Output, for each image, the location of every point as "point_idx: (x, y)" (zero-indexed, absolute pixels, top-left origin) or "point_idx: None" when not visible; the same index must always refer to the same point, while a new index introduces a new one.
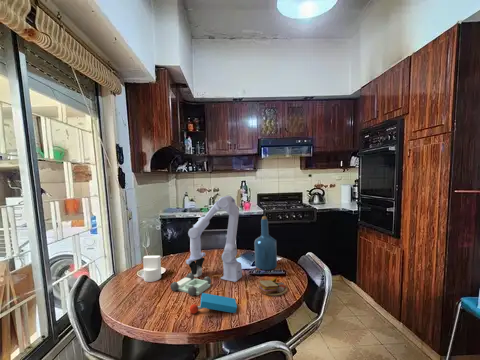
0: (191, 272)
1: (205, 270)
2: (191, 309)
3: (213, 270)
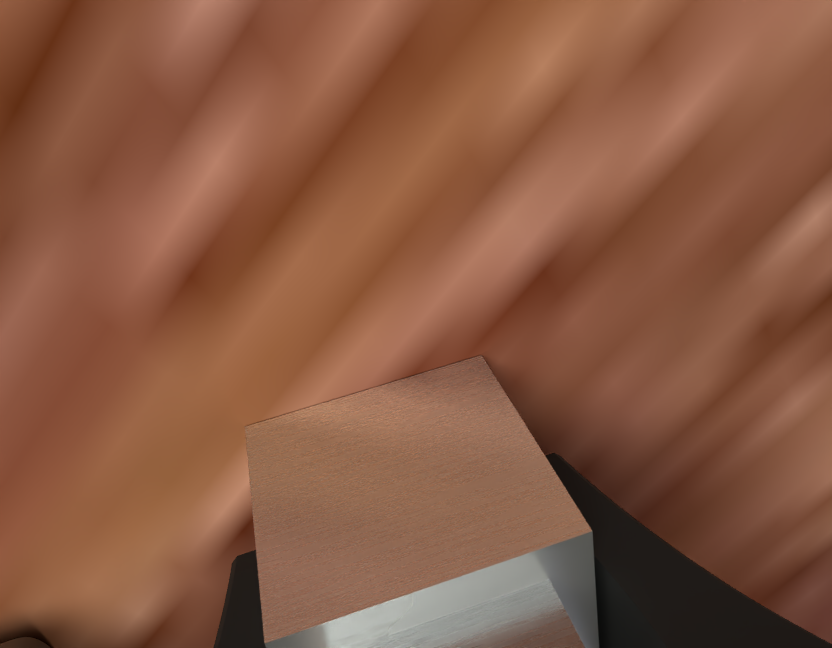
0: (259, 523)
1: (766, 379)
2: None
3: (820, 505)
